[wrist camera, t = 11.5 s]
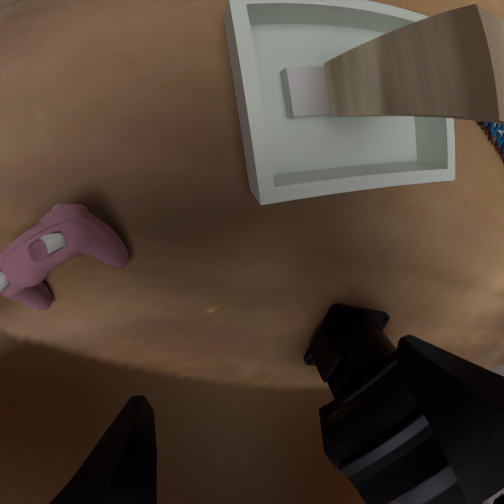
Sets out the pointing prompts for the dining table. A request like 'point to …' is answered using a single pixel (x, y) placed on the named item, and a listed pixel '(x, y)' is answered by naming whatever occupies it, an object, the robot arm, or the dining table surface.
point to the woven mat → (495, 135)
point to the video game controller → (55, 252)
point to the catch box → (322, 126)
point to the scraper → (410, 73)
